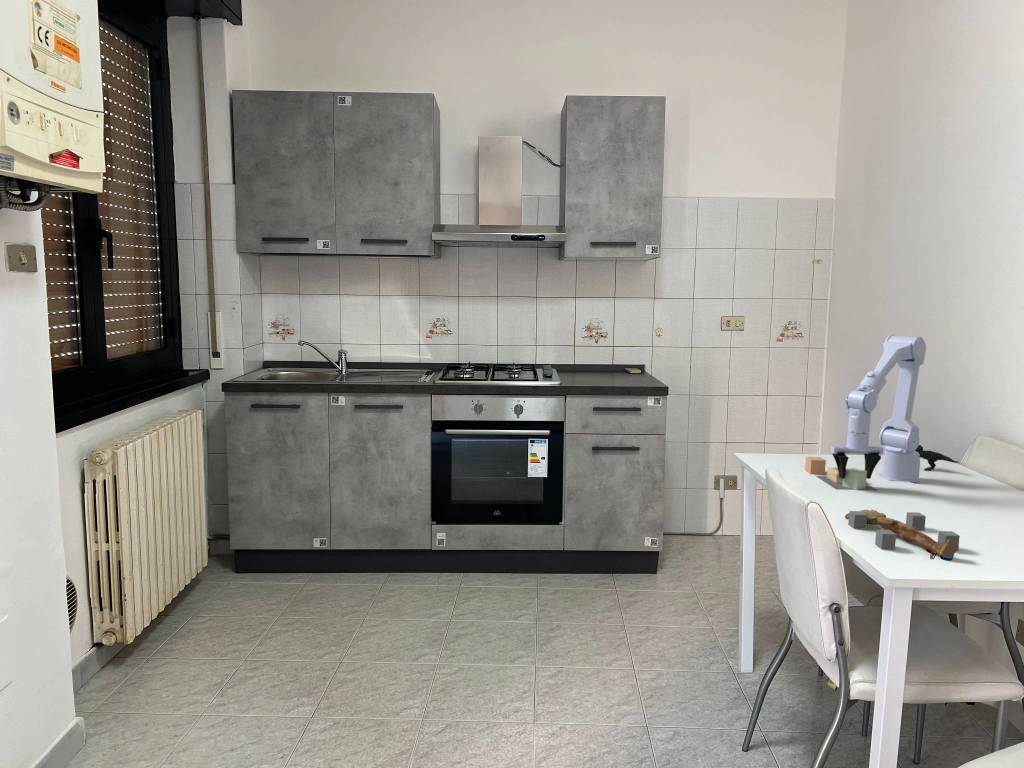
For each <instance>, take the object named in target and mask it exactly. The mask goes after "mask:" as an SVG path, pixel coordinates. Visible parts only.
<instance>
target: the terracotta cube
mask: <svg viewBox="0 0 1024 768" xmlns="http://www.w3.org/2000/svg"><path fill="white" fill-rule="evenodd" d="M804 462H805V463H804V471H805V472H806V473H808V474H809V475H825V474H826V466H827V465H826V464H827V463H826V462H827V460H826V459H825V458H823V457H821V456H805V461H804Z"/></svg>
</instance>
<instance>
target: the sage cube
mask: <svg viewBox="0 0 1024 768" xmlns="http://www.w3.org/2000/svg"><path fill="white" fill-rule="evenodd" d="M848 468H849V469H846V474H845V479H843V484H842V486H844V487H848V488H851V489H855V491H858V489H863V488H866V484H867V480H868V478H867V471H865V469H859V468H856V467H848Z"/></svg>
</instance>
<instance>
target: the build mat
mask: <svg viewBox="0 0 1024 768" xmlns="http://www.w3.org/2000/svg"><path fill="white" fill-rule="evenodd" d="M815 477H817V478H818V479H819V480H821V481H822V482H823V483H826V484H827V485H828V486H830V487H831V488H833V489H835V490H847V491H848V490H849V491H851V490H855V489H851V488H848V487H844V486H842V484H843V483H835V482H834V481H832V480H831V479H829V478H828V477H827V475H815ZM858 490H859V491H878V489H876V488H875V487H873V486H871V485H870V484H868V483H866V488H863V489H858ZM858 490H857V491H858ZM855 491H856V490H855Z"/></svg>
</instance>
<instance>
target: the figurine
mask: <svg viewBox="0 0 1024 768" xmlns="http://www.w3.org/2000/svg"><path fill="white" fill-rule="evenodd" d="M860 511H862V512H864V513H865V514H867V525H869V526H870V525H871V526H878V525H879V526H880V527H881V528H882V530H891V531H892V532H894V533H895V534H896V536H898V537H900V538H901V539H902V541H905V542H907V543H914V544H917V545H918V546H920V547H922V548H923V549H925V550H927V549H930V550H932V551H934V552H936V553H937V554H938V555H937V554H936V555H937V556H939V555H940V556H939V557H940V558H942V557H943V559H944V558H946V557H950V556H951V558H952V557H954V555H955V553H956V552H958V551H957V549H958V550H959V549H960V546H958V545H957V544H955V543H954V542H953V541H952V540H950V539H948V540H947V541H945V542H944V543H942V544H939V543H937V542H938V541H936V540H934V539H933V538H932V537H930V536H928V535H927V534H925V533H923V532H921V530H916V529H914V528H913V527H911V526H909V525H907V524H906V523H904V522H901V521H900V520H897V519H894V518H890V517H887V515H886V514H885V513H884V512H878V511H877V510H876V509H875V510H874V509H862V510H860ZM844 518H845V519H846V520H848V519H849V512H848V513H847V514H845V516H844Z"/></svg>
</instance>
